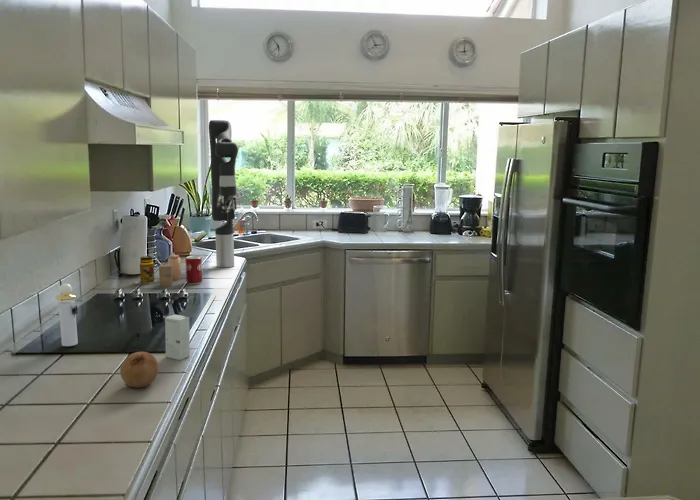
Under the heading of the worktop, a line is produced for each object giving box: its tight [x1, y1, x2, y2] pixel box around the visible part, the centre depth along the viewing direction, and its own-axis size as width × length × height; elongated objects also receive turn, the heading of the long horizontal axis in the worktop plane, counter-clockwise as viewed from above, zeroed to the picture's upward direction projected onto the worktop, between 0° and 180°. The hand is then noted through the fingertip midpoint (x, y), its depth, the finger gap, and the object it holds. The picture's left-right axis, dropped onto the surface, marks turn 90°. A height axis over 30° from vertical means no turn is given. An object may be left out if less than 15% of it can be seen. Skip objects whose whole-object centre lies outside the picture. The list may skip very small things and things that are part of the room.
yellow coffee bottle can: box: [135, 255, 159, 285], centre depth 279 cm, size 7×8×12 cm
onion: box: [119, 351, 159, 389], centre depth 157 cm, size 10×9×10 cm
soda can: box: [185, 255, 204, 285], centre depth 277 cm, size 7×7×12 cm
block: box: [158, 264, 174, 288], centre depth 272 cm, size 5×5×9 cm
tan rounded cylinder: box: [167, 254, 182, 281], centre depth 286 cm, size 6×6×11 cm
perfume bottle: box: [55, 282, 79, 347], centre depth 187 cm, size 6×6×20 cm
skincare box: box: [164, 314, 191, 361], centre depth 178 cm, size 6×4×12 cm
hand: (229, 220), depth 285 cm, fingers open, 8 cm apart
